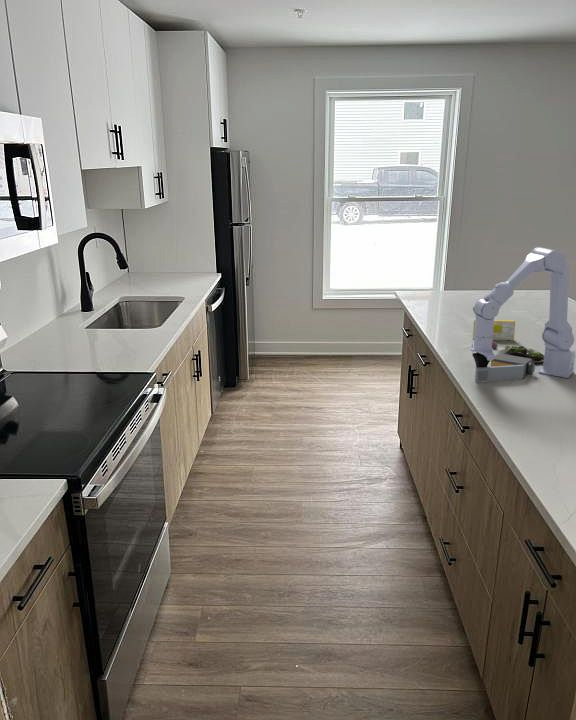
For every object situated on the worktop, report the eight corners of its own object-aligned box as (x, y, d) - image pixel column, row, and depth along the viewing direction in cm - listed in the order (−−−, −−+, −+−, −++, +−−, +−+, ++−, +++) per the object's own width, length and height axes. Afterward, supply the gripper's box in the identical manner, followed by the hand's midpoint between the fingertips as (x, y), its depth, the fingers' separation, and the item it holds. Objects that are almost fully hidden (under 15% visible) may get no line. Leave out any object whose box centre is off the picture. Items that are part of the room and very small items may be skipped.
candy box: (513, 339, 243) (515, 320, 241) (513, 341, 242) (515, 321, 239) (472, 338, 248) (473, 318, 245) (472, 339, 246) (473, 320, 243)
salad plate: (485, 351, 231) (486, 340, 229) (530, 349, 231) (531, 338, 230) (505, 367, 212) (507, 355, 211) (554, 365, 213) (555, 353, 211)
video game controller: (488, 350, 236) (481, 334, 236) (498, 347, 233) (492, 330, 233) (478, 356, 228) (471, 340, 228) (489, 353, 225) (482, 336, 225)
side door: (523, 377, 200) (525, 364, 199) (526, 379, 199) (527, 365, 197) (474, 380, 199) (475, 367, 197) (476, 382, 197) (477, 369, 196)
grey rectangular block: (536, 373, 204) (537, 359, 203) (529, 379, 199) (531, 365, 197) (497, 366, 212) (498, 353, 211) (490, 371, 207) (491, 358, 206)
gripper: (464, 330, 202) (461, 367, 206) (480, 342, 188) (477, 382, 192) (484, 329, 202) (481, 366, 207) (501, 341, 189) (498, 380, 193)
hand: (480, 374), depth 200 cm, fingers closed
